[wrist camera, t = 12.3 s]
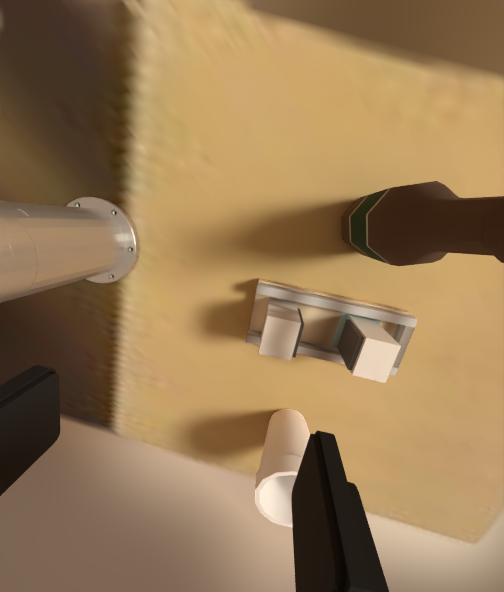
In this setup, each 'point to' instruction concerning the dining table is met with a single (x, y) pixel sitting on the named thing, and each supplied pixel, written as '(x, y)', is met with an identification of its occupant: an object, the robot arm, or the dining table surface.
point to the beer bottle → (424, 225)
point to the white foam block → (367, 348)
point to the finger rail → (316, 322)
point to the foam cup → (280, 465)
